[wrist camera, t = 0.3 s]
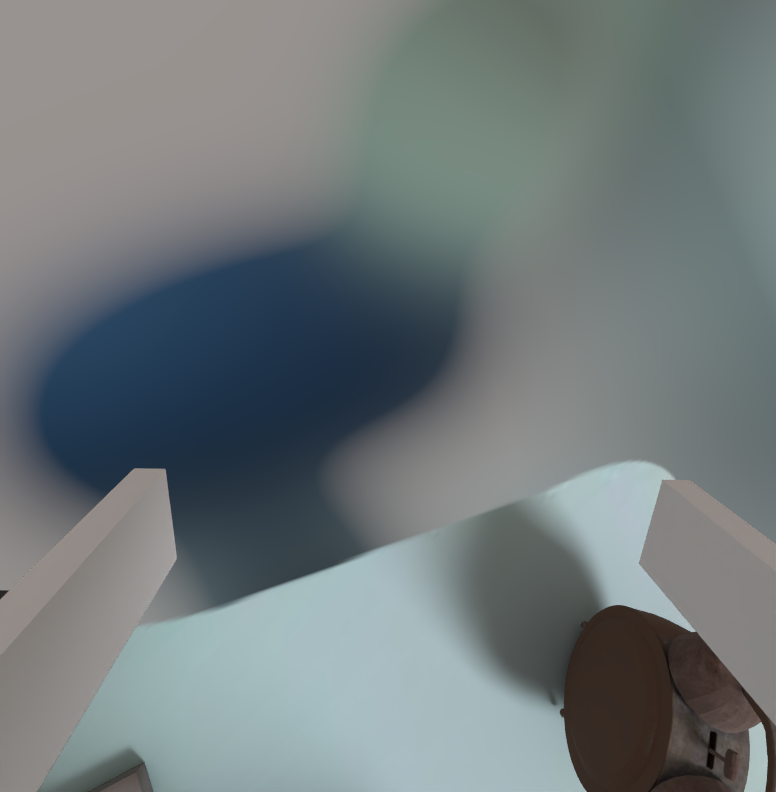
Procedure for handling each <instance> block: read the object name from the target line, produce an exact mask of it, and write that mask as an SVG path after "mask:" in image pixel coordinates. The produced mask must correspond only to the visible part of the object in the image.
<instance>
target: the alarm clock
mask: <svg viewBox="0 0 776 792" xmlns="http://www.w3.org/2000/svg"><path fill="white" fill-rule="evenodd" d="M581 627H582V628H584V630H583V631H582V633H581V635H580V637H579V638H578V641H577V643H576V645H575V648H574V650H573V653H572V657H571V660H570V664H569V668H568V672H567V678H566V685H565V696H564V709H561V710H560V714H561V716H562V717H564V721H565V732H566V739H567V744H568V749H569V753H570V757H571V760H572V763H573V766H574V769H575V771H576V774H577V776H578V778H579V780H580V782H581V784H582V785H583V787H584V788H585V790H586V791H587V792H744V789H745V785H746V781H747V775H748V769H749V756H750V744H749V731H748V729H749V728H752V727H754V726H756V725H757V724H759V723H760V722H762V724H763V726H764V729H765V732H766V743H767V755H768V770H767V784H766V792H776V726H775V724H774V723H773V722H772V721H771V720H770V719H769V717H768V716H767V715H766V714H765V713H764V711H763V710H762V709H761V708H760V707H759V705H758V704H757V703H756V702H755V701H754V700H753V698H752V697H751V696H750V695H749V694H748V692H747V691H746V690H745V689H744V688H743V686H742V685H741V684H740V683H739V682H738V681H737V679H736V678H735V677H734V676H733V675H732V673H731V672H730V671H729V670H728V669H727V667H726V666H725V665H724V664H723V663H722V662H721V660H720V659H719V658H718V657H717V656H716V654H715V653H714V652H713V651H712V650H711V648H710V647H709V646H708V645H707V644H706V643H705V641H704V640H703V639H702V638H701V637H700V635H699V634H698V633H697V632H690V631H688V630H686V629H684V628H682V627H680V626H679V625H677V624H675V623H673V622H671V621H669V620H667V619H664V618H662V617H659V616H657V615H654V614H651V613H647V612H644V611H640V610H636V609H633V608H630V607H627V606H622V605H615V606H610V607H607V608H605V609H603V610H601V611H600V612H599V613H597V614H596V615H595V616H594V617H593V618H592V619H591V620H590V621H589V622H588V624H587V623H586V622H582V623H581Z"/></svg>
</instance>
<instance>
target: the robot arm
mask: <svg viewBox="0 0 776 792" xmlns="http://www.w3.org/2000/svg"><path fill="white" fill-rule="evenodd" d="M176 559H177V556H176V548H175V540H174V532H173V525H172V517H171V509H170V501H169V493H168V486H167V479H166V470H165V469H138V468H136V469H133V470H132V471H131V472H130V473H129V474H128V475H127V476H126V477H125V478H124V479H123V480H122V481H121V482H120V483H119V484H118V485H117V486H116V487H115V488H114V489H113V490H112V491H111V492H110V493H109V494H108V495H107V496H106V497H105V498H104V499H103V500H102V501H101V502H99V503H98V504H97V506H95V507H94V508H93V509H92V510H91V511H90V512H89V513H88V514H87V515H86V516H85V517H84V518H83V519H82V520H81V521H80V522H79V523H78V524H77V525H76V526H75V527H74V528H73V529H72V530H71V531H70V532H69V533H68V534H67V535H66V536H65V537H64V538H63V539H62V540H61V541H60V542H59V543H58V544H57V545H55V547H53V548H52V549H51V550H50V551H49V552H48V553H47V554H46V555H45V556H44V557H43V558H42V559H41V560H40V561H39V562H38V563H37V564H36V565H35V566H34V567H33V568H32V569H31V570H30V571H29V572H28V573H27V574H26V575H25V576H24V577H23V578H22V579H21V580H20V581H19V582H18V583H17V584H16V585H15V586H14V587H13V588H12V589H10V590H9V591H0V792H37V791H38V790H39V788H40V786H41V785H42V783H43V781H44V780H45V778H46V776H47V775H48V773H49V771H50V770H51V768H52V766H53V765H54V763H55V761H56V760H57V758H58V756H59V754H60V753H61V751H62V749H63V748H64V746H65V744H66V743H67V741H68V739H69V738H70V736H71V734H72V733H73V731H74V729H75V728H76V726H77V724H78V723H79V721H80V719H81V718H82V716H83V714H84V713H85V711H86V709H87V708H88V706H89V704H90V703H91V701H92V699H93V698H94V696H95V694H96V693H97V691H98V689H99V688H100V686H101V684H102V683H103V681H104V679H105V678H106V676H107V674H108V673H109V671H110V669H111V668H112V666H113V664H114V663H115V661H116V659H117V658H118V656H119V654H120V653H121V651H122V649H123V648H124V646H125V644H126V643H127V641H128V639H129V638H130V636H131V634H132V633H133V631H134V629H135V628H136V626H137V624H138V623H139V621H140V619H141V618H142V616H143V614H144V613H145V611H146V609H147V608H148V606H149V604H150V603H151V601H152V599H153V597H154V596H155V594H156V593H157V591H158V589H159V588H160V586H161V584H162V583H163V581H164V579H165V578H166V576H167V574H168V573H169V571H170V569H171V568H172V565H173V564H174V562H175V561H176ZM639 564H640V565H641V566H642V568H643V569H644V570H645V571H646V572H647V574H648V575H649V576H650V577H651V578H652V580H653V581H654V582H655V583H656V584H657V585H658V587H659V588H660V589H661V590H662V591H663V593H664V594H665V595H666V596H667V597H668V599H669V600H670V601H671V602H672V603H673V604H674V606H675V607H676V608H677V609H678V610H679V612H680V613H681V614H682V615H683V616H684V618H685V619H686V620H687V621H688V622H689V624H690V625H691V626H692V627H693V628H694V629H695V631H696V632H697V633H698V634H699V635H700V637H701V638H702V639H703V640H704V641H705V643H706V644H707V645H708V646H709V647H710V648H711V650H712V651H713V652H714V653H715V654H716V656H717V657H718V658H719V659H720V660H721V662H722V663H723V664H724V665H725V666H726V667H727V669H728V670H729V671H730V672H731V673H732V675H733V676H734V677H735V678H736V679H737V681H738V682H739V683H740V684H741V685H742V686H743V688H744V689H745V690H746V691H747V692H748V694H749V695H750V696H751V697H752V698H753V700H754V701H755V702H756V703H757V704H758V705H759V707H760V708H761V709H762V710H763V711H764V713H765V714H766V715H767V716H768V717H769V719H770V720H771V721H772V722H773V723H774V724H775V726H776V544H774V543H773V542H772V541H770V540H769V539H768V538H766V537H765V536H764V535H762V534H761V533H760V532H758V531H757V530H755V529H754V528H753V527H752V526H750V525H749V524H747V523H746V522H745V521H744V520H742V519H741V518H740V517H738V516H737V515H735V514H734V513H733V512H731V511H730V510H729V509H727V508H726V507H725V506H723V505H722V504H721V503H719V502H718V501H717V500H715V499H714V498H713V497H711V496H710V495H708V494H707V493H706V492H704V491H703V490H702V489H701V488H699V487H698V486H696V485H695V484H693V483H692V482H691V481H690V480H662V483H661V487H660V490H659V494H658V498H657V501H656V505H655V508H654V512H653V515H652V519H651V522H650V526H649V529H648V533H647V536H646V540H645V544H644V547H643V551H642V554H641V558H640V561H639Z"/></svg>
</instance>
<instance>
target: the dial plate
mask: <svg viewBox="0 0 776 792" xmlns="http://www.w3.org/2000/svg"><path fill="white" fill-rule="evenodd" d="M89 792H153V790H152V787H151V783H150V780H149V777H148V773H147V770H146V767H145V763H142V764H140V765H138V766H136V767H135V768H133V769H131V770H129V771H127V772H125V773H123V774H121V775H119V776H118V777H116V778H114V779H112V780H110V781H108V782H106V783H104V784H103V785H101V786H99V787H97V788H95V789H93V790H91V791H89Z"/></svg>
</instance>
